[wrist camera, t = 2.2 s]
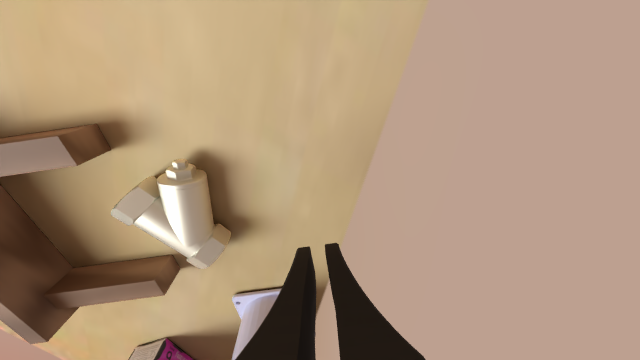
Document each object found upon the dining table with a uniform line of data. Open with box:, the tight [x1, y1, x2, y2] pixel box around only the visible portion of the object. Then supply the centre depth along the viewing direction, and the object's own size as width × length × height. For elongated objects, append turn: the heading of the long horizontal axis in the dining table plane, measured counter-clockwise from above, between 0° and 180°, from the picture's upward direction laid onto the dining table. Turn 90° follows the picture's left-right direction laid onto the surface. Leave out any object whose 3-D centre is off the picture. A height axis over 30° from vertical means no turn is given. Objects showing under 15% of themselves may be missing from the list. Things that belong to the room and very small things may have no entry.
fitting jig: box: [0, 124, 180, 344], centre depth 18 cm, size 18×12×5 cm, turn 8°
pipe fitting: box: [111, 159, 231, 269], centre depth 19 cm, size 8×4×7 cm
